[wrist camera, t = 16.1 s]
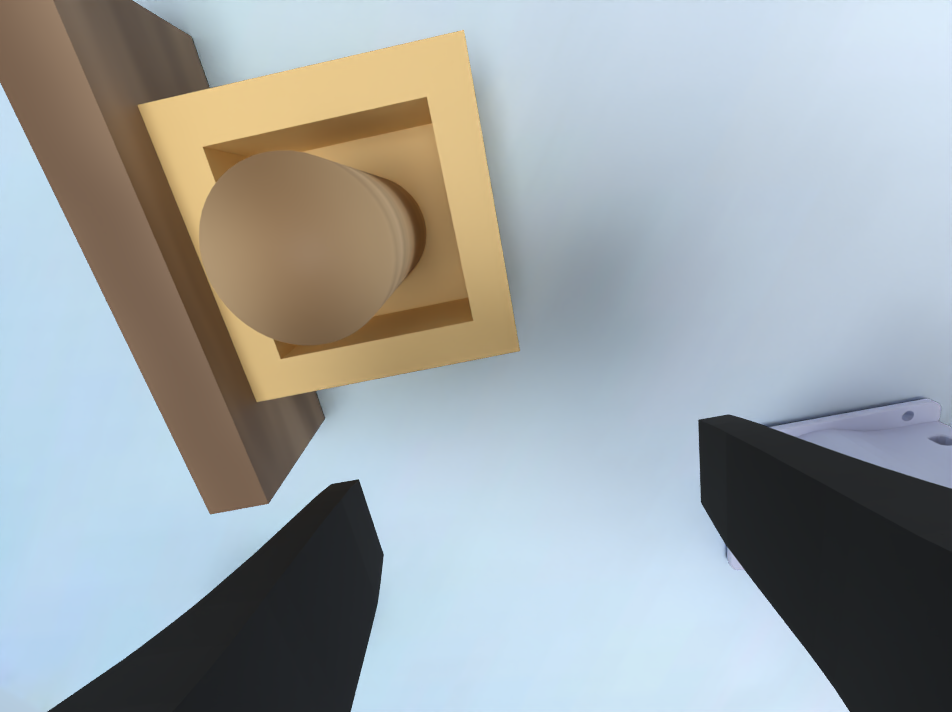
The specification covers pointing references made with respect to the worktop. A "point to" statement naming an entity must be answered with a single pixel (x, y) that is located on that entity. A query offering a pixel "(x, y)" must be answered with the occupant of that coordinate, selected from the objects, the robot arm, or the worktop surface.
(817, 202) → the worktop surface
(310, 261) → the dowel
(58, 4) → the walnut wall
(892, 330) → the worktop surface
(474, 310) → the socket block
